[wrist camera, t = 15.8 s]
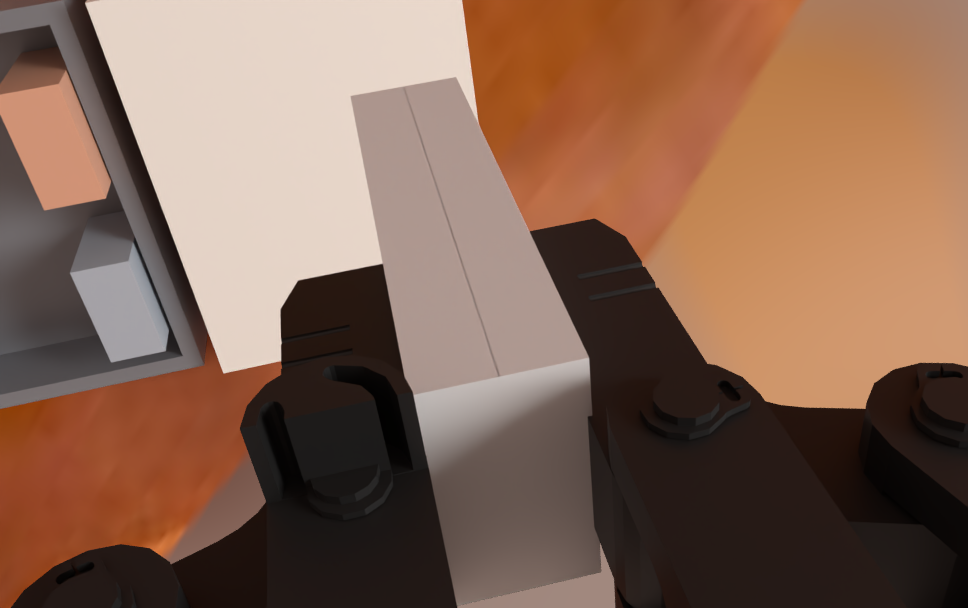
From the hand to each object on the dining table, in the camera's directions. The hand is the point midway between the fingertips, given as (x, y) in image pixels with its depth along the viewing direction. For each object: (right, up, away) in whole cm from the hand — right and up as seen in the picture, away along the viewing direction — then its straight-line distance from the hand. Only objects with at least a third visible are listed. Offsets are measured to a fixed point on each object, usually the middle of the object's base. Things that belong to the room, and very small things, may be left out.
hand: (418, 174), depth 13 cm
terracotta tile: (-15, +6, +25) cm, 30 cm away
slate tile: (-15, -1, +30) cm, 33 cm away
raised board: (-7, +6, +30) cm, 32 cm away
